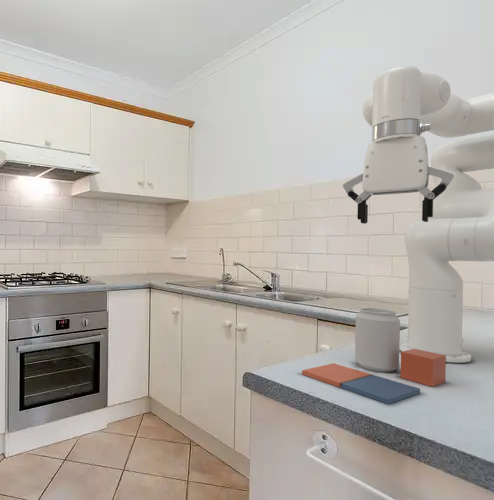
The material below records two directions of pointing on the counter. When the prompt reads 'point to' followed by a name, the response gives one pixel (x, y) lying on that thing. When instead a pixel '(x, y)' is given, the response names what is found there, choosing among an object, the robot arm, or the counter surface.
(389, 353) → the can
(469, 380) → the counter surface
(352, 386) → the sorting board
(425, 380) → the terracotta block
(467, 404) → the counter surface
